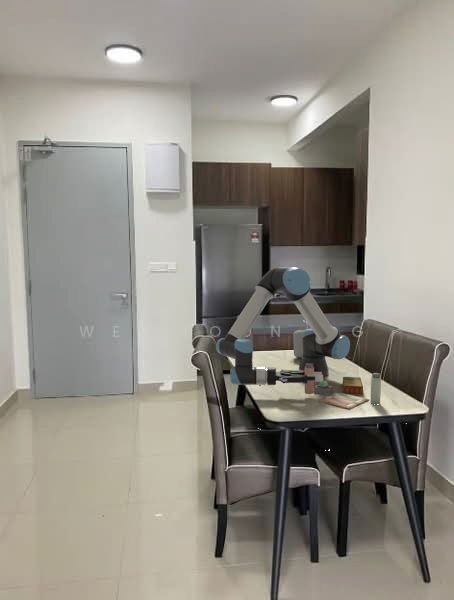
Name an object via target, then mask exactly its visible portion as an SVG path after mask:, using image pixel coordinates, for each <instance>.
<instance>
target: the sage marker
mask: <svg viewBox="0 0 454 600" xmlns="http://www.w3.org/2000/svg"><path fill="white" fill-rule="evenodd" d="M381 388H382V377H381V373H379V372H373V373H372V375H371V377H370V400H369V401H370V405H372V404H375V405H374V406H378V405H377V404H380V405H381Z"/></svg>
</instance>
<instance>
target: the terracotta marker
mask: <svg viewBox="0 0 454 600" xmlns="http://www.w3.org/2000/svg"><path fill="white" fill-rule="evenodd" d="M305 375H314V367H313V364H311V363H307V364H306V367H305ZM314 387H315V381H307V383H304V394H306V395H313V394H315V392H314Z"/></svg>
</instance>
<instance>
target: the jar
mask: <svg viewBox="0 0 454 600" xmlns="http://www.w3.org/2000/svg"><path fill="white" fill-rule="evenodd" d="M305 321H306V320H305ZM305 323H306V324H308V323H307V321H306V322H305ZM306 329H311V327H310V326H309V327H308V326H303V327H297V330H295V331H294V332H293V335H292V337H293V339H292V340H293V355H294V357H295V358H299V359H300V358H301V359H302V337H303V331H304V330H306Z"/></svg>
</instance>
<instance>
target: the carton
mask: <svg viewBox="0 0 454 600" xmlns="http://www.w3.org/2000/svg"><path fill="white" fill-rule="evenodd" d="M362 381H363V380H362V378H361V377H358V376H343V377H342V383H341V384H342V389H343V392H342V393H345V394H349V395H354V396H357V395H359V396H363V393H364V385H363V382H362Z"/></svg>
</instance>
